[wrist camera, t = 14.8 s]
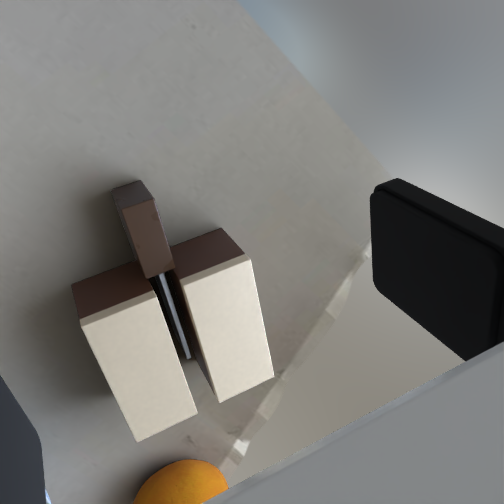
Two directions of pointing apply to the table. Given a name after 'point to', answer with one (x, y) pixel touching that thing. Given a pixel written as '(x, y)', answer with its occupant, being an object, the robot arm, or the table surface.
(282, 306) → the table surface
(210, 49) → the table surface
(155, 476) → the fruit
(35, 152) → the table surface
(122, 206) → the knife
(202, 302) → the cake
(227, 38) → the table surface
